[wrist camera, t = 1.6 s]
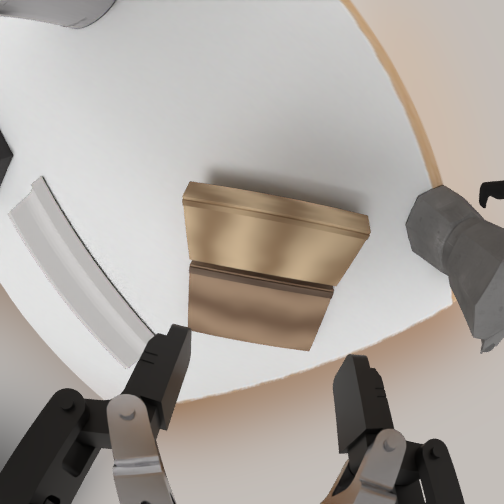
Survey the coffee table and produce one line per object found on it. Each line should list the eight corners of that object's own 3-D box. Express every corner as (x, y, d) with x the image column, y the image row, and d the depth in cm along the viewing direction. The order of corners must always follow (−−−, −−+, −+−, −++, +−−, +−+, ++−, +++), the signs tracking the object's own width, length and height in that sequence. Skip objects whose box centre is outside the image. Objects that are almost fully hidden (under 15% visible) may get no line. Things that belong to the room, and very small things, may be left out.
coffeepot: (456, 269, 29) (527, 366, 13) (397, 274, 30) (458, 395, 15) (473, 151, 22) (591, 205, 6) (408, 144, 24) (537, 197, 8)
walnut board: (194, 255, 32) (189, 265, 30) (331, 280, 32) (334, 291, 30) (191, 319, 36) (187, 330, 34) (308, 340, 36) (309, 352, 34)
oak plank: (194, 245, 31) (189, 260, 29) (189, 181, 23) (182, 197, 22) (335, 271, 30) (336, 287, 29) (367, 215, 23) (370, 233, 22)
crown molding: (167, 344, 40) (159, 360, 37) (122, 356, 44) (114, 371, 41) (45, 174, 29) (27, 182, 26) (16, 216, 33) (1, 225, 30)
